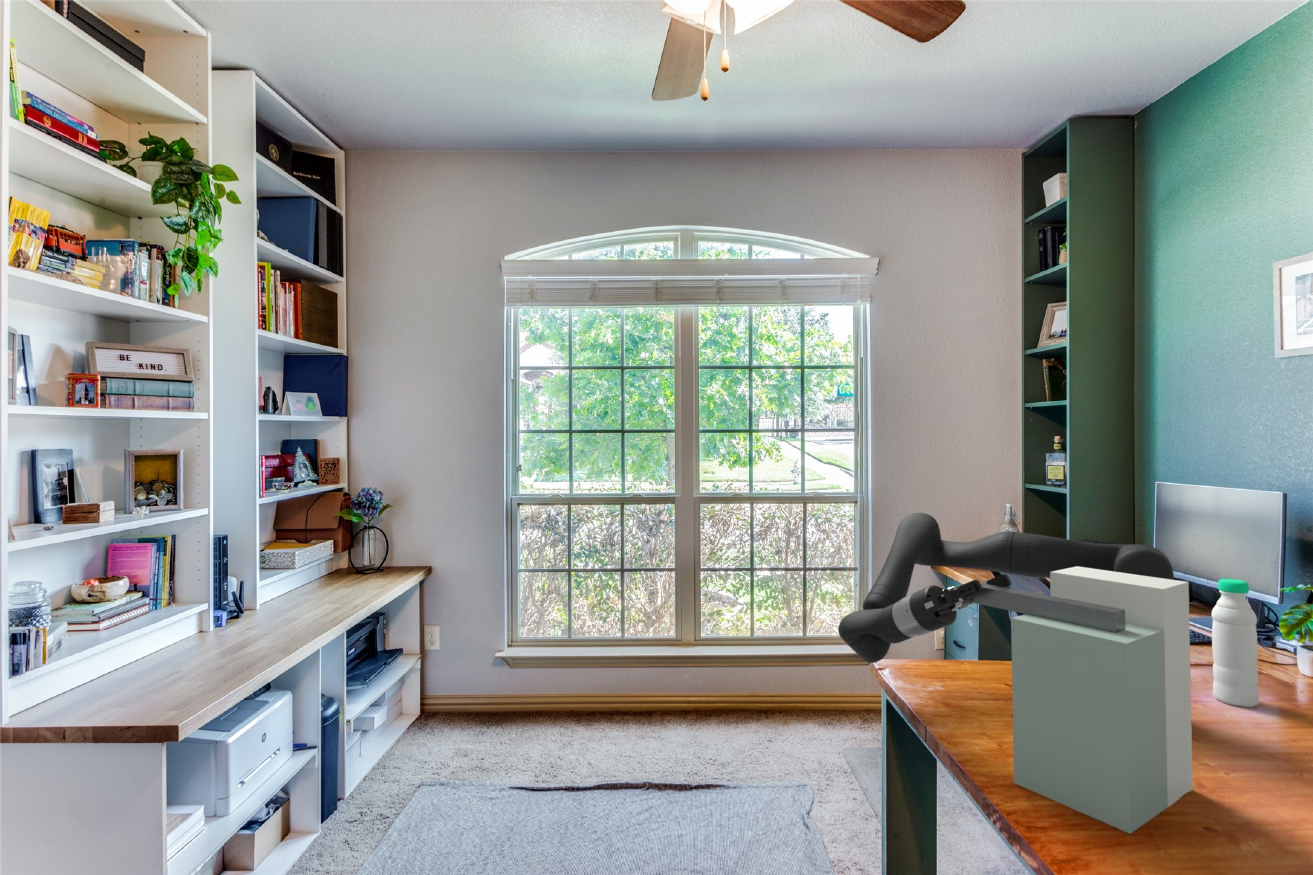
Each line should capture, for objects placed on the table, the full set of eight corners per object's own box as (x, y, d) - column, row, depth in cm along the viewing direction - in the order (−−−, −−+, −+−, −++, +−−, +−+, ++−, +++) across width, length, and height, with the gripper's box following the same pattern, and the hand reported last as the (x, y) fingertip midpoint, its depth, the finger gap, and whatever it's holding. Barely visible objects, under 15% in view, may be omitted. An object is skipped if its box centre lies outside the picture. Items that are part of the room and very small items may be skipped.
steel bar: (973, 602, 113) (972, 585, 113) (983, 600, 114) (982, 583, 114) (1115, 632, 94) (1115, 612, 94) (1125, 629, 95) (1125, 609, 96)
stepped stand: (1013, 782, 102) (1010, 580, 103) (1080, 749, 113) (1076, 566, 114) (1130, 833, 89) (1125, 599, 89) (1192, 789, 100) (1188, 581, 100)
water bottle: (1204, 695, 137) (1201, 577, 137) (1234, 694, 137) (1232, 576, 138) (1236, 708, 130) (1233, 584, 130) (1268, 707, 130) (1266, 583, 131)
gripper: (890, 597, 120) (959, 565, 109) (937, 588, 128) (1006, 557, 116) (908, 637, 117) (981, 609, 105) (955, 625, 125) (1028, 597, 113)
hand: (994, 582), depth 111 cm, fingers open, 8 cm apart
